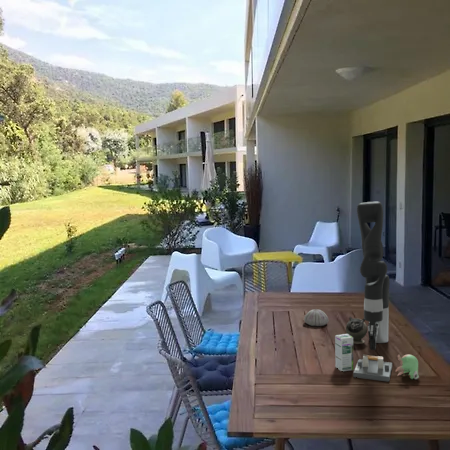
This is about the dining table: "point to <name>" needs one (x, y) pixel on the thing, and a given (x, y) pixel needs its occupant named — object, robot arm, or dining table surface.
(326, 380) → the dining table surface
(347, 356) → the syrup box
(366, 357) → the breaker paddles
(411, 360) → the frog
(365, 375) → the breaker panel
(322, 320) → the sea urchin shell
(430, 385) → the dining table surface
